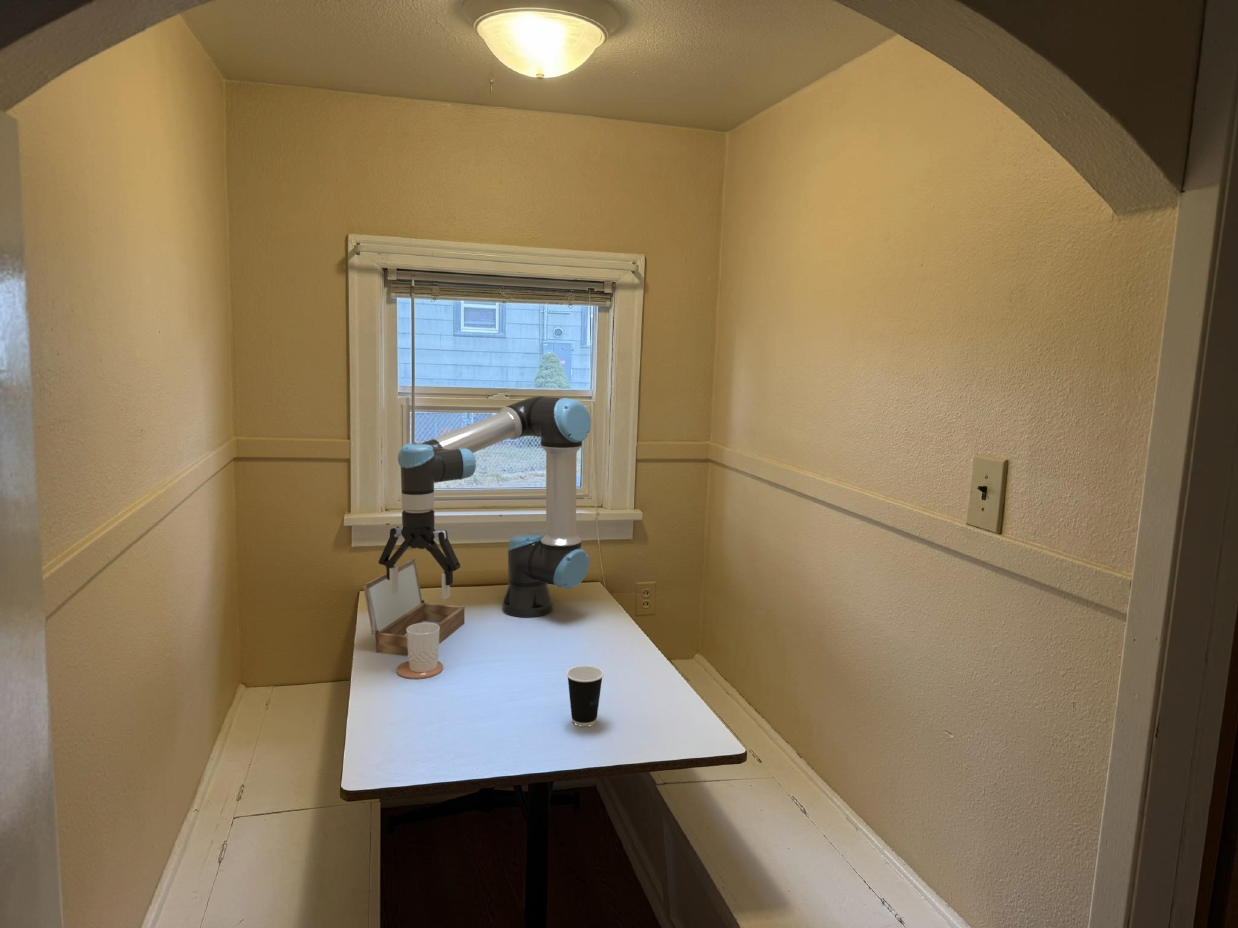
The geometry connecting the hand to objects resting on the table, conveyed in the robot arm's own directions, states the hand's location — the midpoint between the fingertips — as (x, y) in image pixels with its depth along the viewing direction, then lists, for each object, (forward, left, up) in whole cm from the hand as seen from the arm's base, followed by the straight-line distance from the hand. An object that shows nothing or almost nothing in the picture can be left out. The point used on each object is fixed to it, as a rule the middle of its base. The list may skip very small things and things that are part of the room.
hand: (419, 595), depth 192 cm
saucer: (0, +1, -19) cm, 19 cm away
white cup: (-1, 0, -18) cm, 18 cm away
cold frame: (+9, -19, -19) cm, 28 cm away
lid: (+17, -19, -7) cm, 27 cm away
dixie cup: (-46, +16, -19) cm, 52 cm away
